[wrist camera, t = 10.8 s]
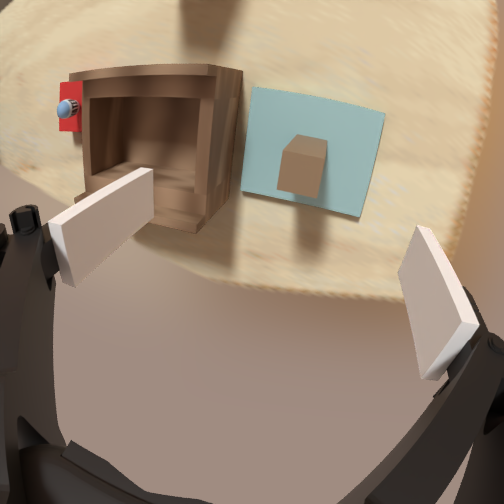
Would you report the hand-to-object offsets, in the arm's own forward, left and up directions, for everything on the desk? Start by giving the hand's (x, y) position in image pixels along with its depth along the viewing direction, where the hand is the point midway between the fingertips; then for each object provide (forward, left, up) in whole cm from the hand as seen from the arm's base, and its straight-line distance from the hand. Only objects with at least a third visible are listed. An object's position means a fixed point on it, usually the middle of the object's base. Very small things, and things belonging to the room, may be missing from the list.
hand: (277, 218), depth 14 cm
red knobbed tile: (-28, +3, -18) cm, 34 cm away
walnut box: (-15, 0, -18) cm, 24 cm away
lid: (0, 0, -18) cm, 18 cm away
